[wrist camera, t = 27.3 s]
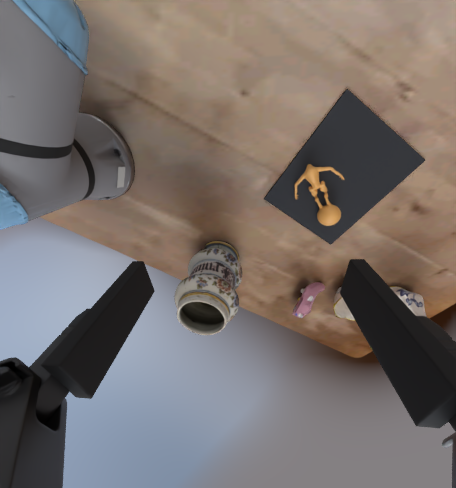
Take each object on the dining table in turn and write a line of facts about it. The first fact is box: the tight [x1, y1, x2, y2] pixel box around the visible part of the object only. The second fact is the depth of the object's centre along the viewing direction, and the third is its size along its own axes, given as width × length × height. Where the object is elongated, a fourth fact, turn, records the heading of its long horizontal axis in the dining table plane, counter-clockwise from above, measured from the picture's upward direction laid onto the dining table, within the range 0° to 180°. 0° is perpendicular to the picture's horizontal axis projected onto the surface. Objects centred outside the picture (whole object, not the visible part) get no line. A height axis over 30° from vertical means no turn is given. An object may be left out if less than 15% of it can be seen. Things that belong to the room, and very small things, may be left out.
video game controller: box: [292, 282, 325, 318], centre depth 46 cm, size 10×5×7 cm, turn 170°
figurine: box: [295, 164, 344, 226], centre depth 34 cm, size 8×6×12 cm
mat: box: [264, 89, 425, 244], centre depth 34 cm, size 18×20×1 cm
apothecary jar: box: [175, 241, 242, 335], centre depth 38 cm, size 12×12×18 cm
